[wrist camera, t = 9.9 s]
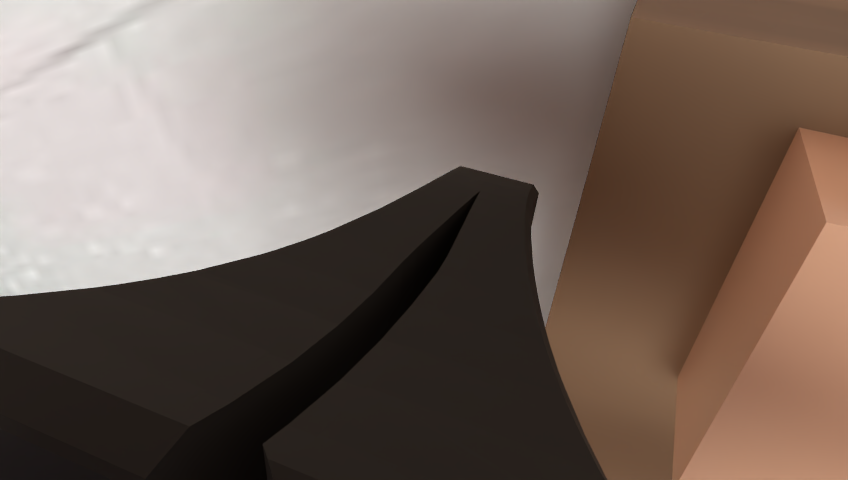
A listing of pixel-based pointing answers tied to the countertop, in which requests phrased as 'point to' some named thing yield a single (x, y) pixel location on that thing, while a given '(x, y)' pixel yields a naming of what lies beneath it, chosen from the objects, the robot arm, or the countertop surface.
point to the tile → (776, 336)
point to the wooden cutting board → (681, 200)
